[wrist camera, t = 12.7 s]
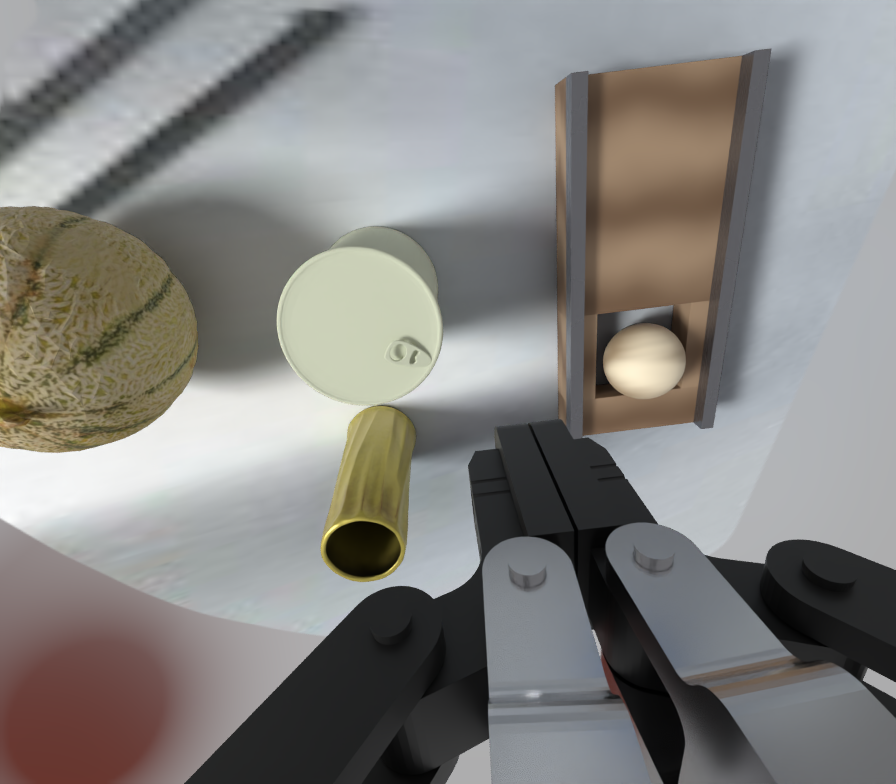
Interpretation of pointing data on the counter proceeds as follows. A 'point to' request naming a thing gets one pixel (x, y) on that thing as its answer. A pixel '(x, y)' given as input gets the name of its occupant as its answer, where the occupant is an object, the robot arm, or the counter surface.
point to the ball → (644, 361)
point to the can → (363, 318)
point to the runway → (652, 224)
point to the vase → (371, 497)
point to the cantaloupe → (86, 332)
